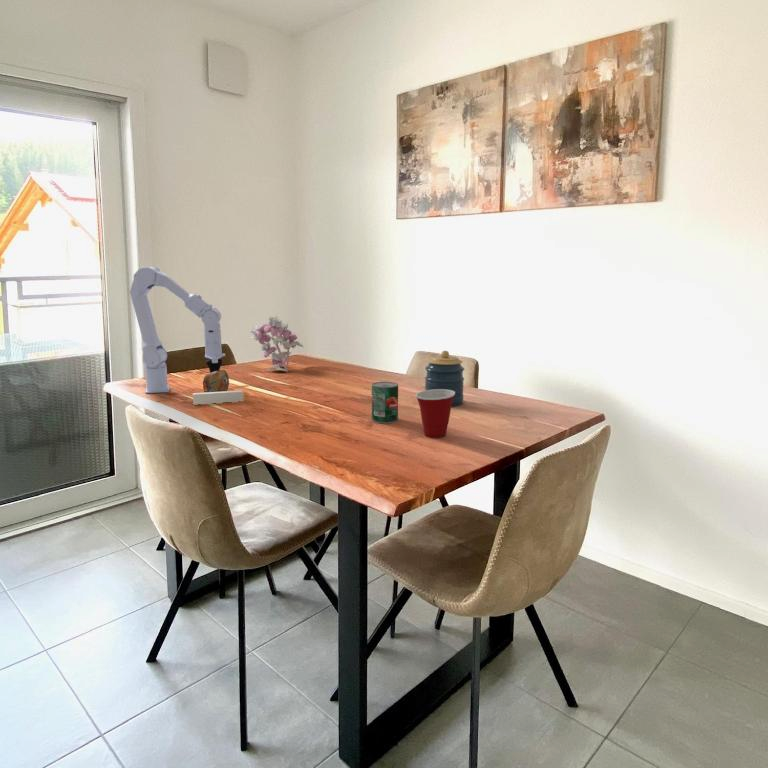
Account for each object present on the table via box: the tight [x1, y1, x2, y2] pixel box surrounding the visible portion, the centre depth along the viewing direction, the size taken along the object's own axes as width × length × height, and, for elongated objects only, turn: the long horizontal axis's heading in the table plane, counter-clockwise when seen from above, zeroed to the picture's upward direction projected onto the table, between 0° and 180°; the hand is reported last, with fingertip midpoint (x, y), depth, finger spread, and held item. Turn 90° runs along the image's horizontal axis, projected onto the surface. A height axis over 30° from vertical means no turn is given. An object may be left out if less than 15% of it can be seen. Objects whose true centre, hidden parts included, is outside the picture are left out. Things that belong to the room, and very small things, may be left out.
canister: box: [424, 350, 465, 407], centre depth 203 cm, size 13×13×18 cm
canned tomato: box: [371, 381, 399, 424], centre depth 180 cm, size 8×8×11 cm
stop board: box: [192, 389, 244, 406], centre depth 202 cm, size 2×16×4 cm, turn 108°
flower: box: [249, 315, 304, 373], centre depth 262 cm, size 20×22×25 cm
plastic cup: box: [414, 389, 455, 439], centre depth 165 cm, size 11×11×12 cm
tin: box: [202, 369, 230, 393], centre depth 213 cm, size 15×3×8 cm, turn 168°
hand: (214, 379), depth 221 cm, fingers closed
